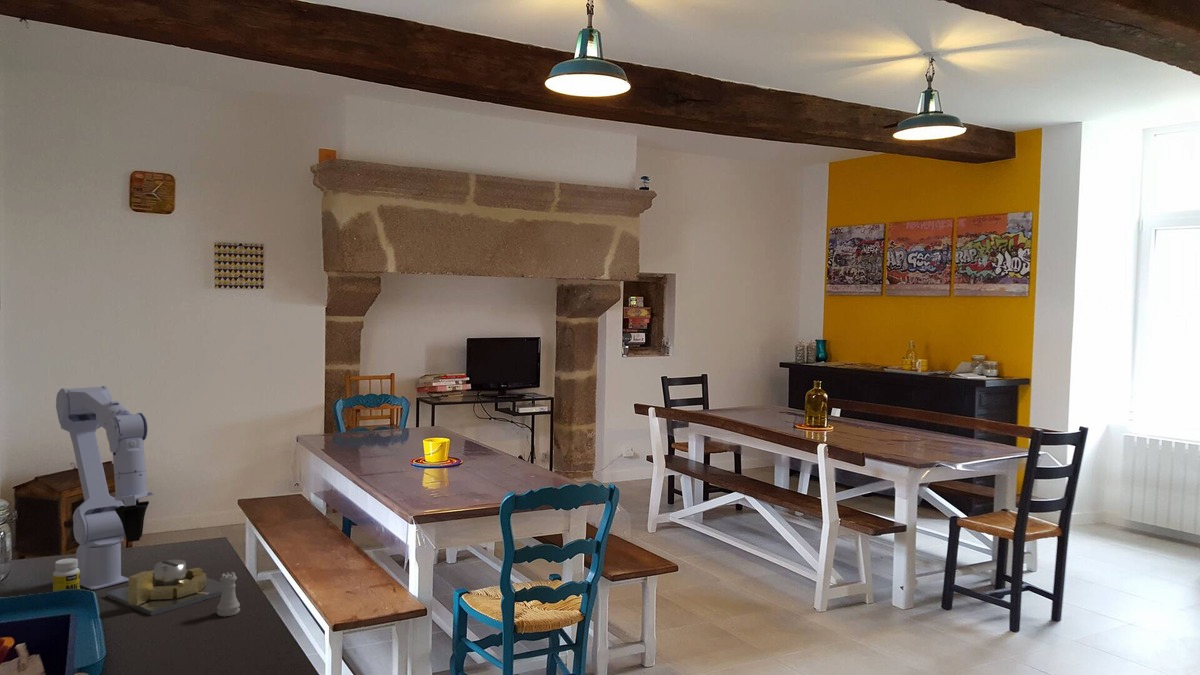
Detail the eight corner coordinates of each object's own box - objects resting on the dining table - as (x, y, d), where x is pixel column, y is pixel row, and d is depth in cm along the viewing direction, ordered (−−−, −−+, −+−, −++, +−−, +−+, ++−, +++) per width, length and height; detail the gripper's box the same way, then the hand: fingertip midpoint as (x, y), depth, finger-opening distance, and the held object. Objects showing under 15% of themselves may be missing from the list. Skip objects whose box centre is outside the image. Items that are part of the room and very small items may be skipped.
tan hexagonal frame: (105, 594, 180) (105, 568, 180) (183, 574, 194) (183, 549, 194) (139, 608, 173) (139, 581, 173) (217, 586, 187) (217, 560, 186)
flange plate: (105, 596, 183) (105, 565, 182) (187, 575, 198) (187, 546, 197) (151, 615, 173) (151, 582, 172) (234, 591, 187) (234, 561, 187)
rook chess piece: (245, 611, 176) (245, 572, 176) (227, 618, 172) (227, 578, 172) (229, 607, 178) (229, 569, 177) (211, 615, 174) (211, 575, 173)
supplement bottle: (67, 606, 177) (66, 565, 177) (47, 604, 178) (46, 563, 177) (85, 598, 182) (85, 558, 181) (66, 596, 183) (65, 556, 182)
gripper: (150, 471, 175) (155, 539, 174) (153, 469, 188) (158, 533, 187) (110, 476, 172) (115, 545, 171) (115, 473, 185) (120, 538, 184)
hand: (134, 539), depth 178 cm, fingers open, 7 cm apart
